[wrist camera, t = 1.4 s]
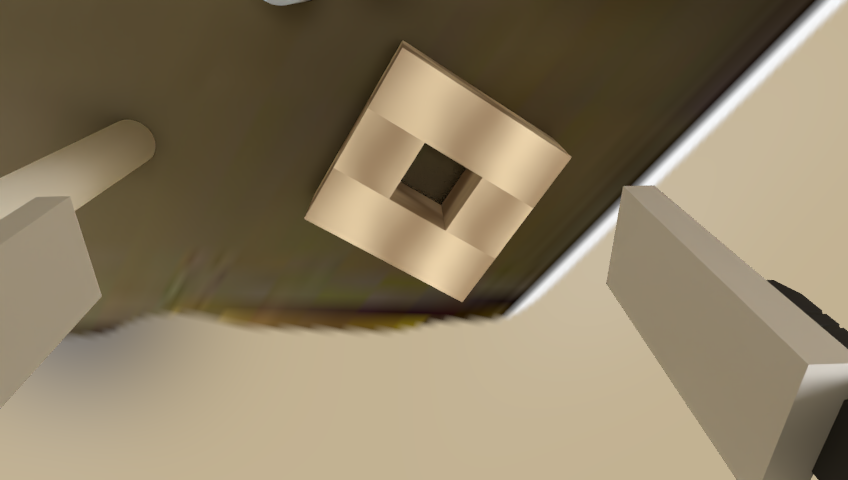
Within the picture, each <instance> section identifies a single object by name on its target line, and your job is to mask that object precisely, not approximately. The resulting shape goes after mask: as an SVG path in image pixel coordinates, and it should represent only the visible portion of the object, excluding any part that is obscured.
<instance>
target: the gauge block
mask: <svg viewBox="0 0 848 480" xmlns="http://www.w3.org/2000/svg"><path fill="white" fill-rule="evenodd" d="M424 143H426V144H428V145H430V146H431V147H433V148H435V149H436V150H438V151H439V152H441V153H443V154H444V155H446V156H448V157H449V158H451V159H453V160H454V161H456V162H458V163H459V164H461V165H463V166H464V167H466V169H465V171H464V172H463V174H462V175H461V177H460V178H459V180H458V181H457V183H456V184H455V185H454V187H453V188H452V190H451V191H450V193H449V194H448V196H447V197H446V199H445V200H444V202H443V203H442V205H440V204H438V203H436V202H435V201H433V200H431V199H430V198H428V197H426V196H424V195H423V194H421V193H419V192H417V191H416V190H414V189H412V188H410V187H409V186H407V185H405V184H403V183H402V182H400V181H401V180H402V178H403V176H404V175H405V173H406V172H407V170H408V169H409V167H410V165H411V164H412V162H413V161H414V159H415V157H416V156H417V154H418V153H419V151H420V150H421V148H422V146H423V145H424ZM570 159H571V156H570V155H569V154H568V153H567V152H566V151H565V150H564V149H563V148H562V147H561V146H560V145H559V144H558V143H557V142H556V141H555V140H554V139H553V138H552V137H550V136H549V135H547V134H546V133H544V132H543V131H541V130H540V129H538V128H536V127H535V126H533V125H532V124H530V123H529V122H527V121H526V120H524V119H523V118H521V117H520V116H518V115H517V114H515V113H514V112H512V111H510V110H509V109H507V108H506V107H504V106H503V105H501V104H500V103H498V102H497V101H495V100H494V99H492V98H491V97H489V96H488V95H486V94H484V93H483V92H481V91H480V90H478V89H477V88H475V87H474V86H472V85H471V84H469V83H468V82H466V81H465V80H463V79H462V78H460V77H458V76H457V75H455V74H454V73H452V72H451V71H449V70H448V69H446V68H445V67H443V66H442V65H440V64H439V63H437V62H436V61H434V60H432V59H431V58H429V57H428V56H426V55H425V54H423V53H422V52H420V51H419V50H417V49H416V48H414V47H413V46H411V45H410V44H408V43H406V42H405V41H403V40H402V42H401V44H400V45H399V47H398V49H397V51H396V52H395V54H394V56H393V58H392V59H391V61H390V63H389V65H388V66H387V68H386V70H385V72H384V73H383V75H382V77H381V79H380V80H379V82H378V84H377V86H376V87H375V89H374V91H373V93H372V94H371V96H370V98H369V100H368V101H367V103H366V105H365V107H364V108H363V110H362V112H361V114H360V115H359V117H358V119H357V121H356V122H355V124H354V126H353V128H352V129H351V131H350V133H349V135H348V136H347V138H346V140H345V142H344V143H343V145H342V147H341V149H340V150H339V152H338V154H337V156H336V157H335V159H334V161H333V163H332V164H331V166H330V168H329V170H328V171H327V173H326V175H325V177H324V178H323V180H322V182H321V183H320V185H319V187H318V189H317V190H316V192H315V194H314V196H313V199H312V201H311V204H310V206H309V208H308V211H307V213H306V215H305V218H304V219H306V220H308V221H310V222H311V223H313V224H315V225H317V226H319V227H321V228H323V229H325V230H327V231H328V232H330V233H332V234H334V235H336V236H338V237H340V238H342V239H344V240H345V241H347V242H349V243H351V244H353V245H355V246H357V247H359V248H361V249H363V250H364V251H366V252H368V253H370V254H372V255H374V256H376V257H378V258H380V259H381V260H383V261H385V262H387V263H389V264H391V265H393V266H395V267H397V268H398V269H400V270H402V271H404V272H406V273H408V274H410V275H412V276H414V277H416V278H417V279H419V280H421V281H423V282H425V283H427V284H429V285H431V286H433V287H434V288H436V289H438V290H440V291H442V292H444V293H446V294H448V295H450V296H451V297H453V298H455V299H457V300H459V301H461V302H463V301H464V299H465V298H466V297H467V295H468V294H469V293H470V291H471V290H472V289H473V287H474V286H475V285H476V283H477V282H478V281H479V279H480V278H481V277H482V275H483V274H484V273H485V271H486V270H487V269H488V267H489V266H490V265H491V263H492V262H493V261H494V259H495V258H496V257H497V255H498V254H499V253H500V252H501V250H502V249H503V248H504V246H505V245H506V244H507V242H508V241H509V240H510V238H511V237H512V236H513V234H514V233H515V232H516V230H517V229H518V228H519V226H520V225H521V224H522V222H523V221H524V220H525V218H526V217H527V216H528V214H529V213H530V212H531V210H532V209H533V208H534V206H535V205H536V204H537V202H538V201H539V200H540V198H541V197H542V196H543V194H544V193H545V192H546V190H547V189H548V188H549V187H550V185H551V184H552V183H553V181H554V180H555V179H556V177H557V176H558V175H559V173H560V172H561V171H562V169H563V168H564V167H565V165H566V164H567V163H568V161H569V160H570Z"/></svg>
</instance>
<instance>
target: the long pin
mask: <svg viewBox="0 0 848 480" xmlns="http://www.w3.org/2000/svg"><path fill="white" fill-rule="evenodd" d="M155 149H156V143H155V139H154V136H153V135H152V133H151V132H150V130H149V129H148V128H147V127H146V126H144V125H143V124H141V123H140V122H137V121H135V120H121V121H118V122H116V123H114V124H112V125H110V126H108V127H106V128H104V129H102V130H100V131H97V132H95V133H93V134H91V135H89V136H87V137H85V138H83V139H81V140H79V141H77V142H74V143H72V144H70V145H68V146H66V147H64V148H62V149H60V150H58V151H56V152H54V153H51V154H49V155H47V156H45V157H43V158H41V159H39V160H37V161H35V162H33V163H31V164H28V165H26V166H24V167H22V168H20V169H18V170H16V171H14V172H12V173H10V174H8V175H6V176H3V177H1V178H0V219H2V218H4V217H5V216H7V215H8V214H10V213H12V212H13V211H15V210H16V209H18V208H19V207H21V206H23V205H24V204H26V203H27V202H29V201H31V200H32V199H34V198H35V197H52V196H70V198H71V201H72V204H73V207H74V210H75V211H76V210H77V209H78V208H80V207H81V206H83V205H84V204H86V203H87V202H89V201H90V200H92V199H93V198H94V197H96V196H97V195H99V194H100V193H102V192H103V191H105V190H106V189H108V188H109V187H110V186H112V185H113V184H115V183H116V182H118V181H119V180H121V179H122V178H124V177H125V176H126V175H128V174H129V173H131V172H132V171H134V170H135V169H137V168H138V167H140V166H141V165H142V164H144V163H145V162H147V161H148V160H150V159H151V158H152V156H153V155H154V153H155Z"/></svg>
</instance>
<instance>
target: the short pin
mask: <svg viewBox="0 0 848 480" xmlns="http://www.w3.org/2000/svg"><path fill="white" fill-rule="evenodd" d="M264 1H266V2H268V3H270V4H273V5H289V4H294V3H300V2H306V1H311V0H264Z"/></svg>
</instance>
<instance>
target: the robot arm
mask: <svg viewBox="0 0 848 480" xmlns="http://www.w3.org/2000/svg"><path fill="white" fill-rule="evenodd" d="M606 284H607V285H608V287H609V288H610V290H611V291H612V293H613V294H614V296H615V297H616V299H617V300H618V302H619V303H620V305H621V306H622V308H623V309H624V311H625V312H626V314H627V315H628V317H629V318H630V320H631V321H632V323H633V324H634V326H635V327H636V329H637V330H638V332H639V333H640V335H641V336H642V338H643V339H644V341H645V342H646V344H647V346H648V347H649V348H650V350H651V351H652V353H653V355H654V356H655V358H656V359H657V360H658V362H659V364H660V365H661V366H662V368H663V370H664V371H665V373H666V374H667V375H668V377H669V379H670V380H671V382H672V383H673V385H674V386H675V388H676V389H677V391H678V392H679V394H680V395H681V397H682V398H683V400H684V401H685V402H686V404H687V406H688V407H689V409H690V410H691V412H692V413H693V415H694V416H695V418H696V419H697V420H698V422H699V424H700V425H701V427H702V428H703V430H704V431H705V433H706V434H707V436H708V437H709V439H710V440H711V442H712V443H713V445H714V446H715V448H716V449H717V451H718V452H719V454H720V455H721V457H722V458H723V460H724V461H725V463H726V464H727V466H728V467H729V469H730V470H731V472H732V473H733V475H734V476H735V478H736V479H737V480H811V478H812V476H813V474H814V475H815V476H816V477H817V479H818V480H848V331H847V330H845V329H844V328H840V327H839V324H838V323H837V322H835V321H834V320H833V319H831V317H829V316H828V315H827V314H822V310H821V309H819V308H818V307H817V306H816V305H814V304H813V303H812V302H811V301H809V300H808V299H807V298H806V297H805V296H803V295H802V294H800V293H798V292H796V291H794V290H792V289H790V288H788V287H786V286H784V285H782V284H780V283H778V282H776V281H774V280H765V279H764V278H763V277H762V276H761V275H759V274H758V273H757V272H756V271H755V270H753V269H752V268H751V267H750V266H749V265H747V264H746V263H745V262H744V261H743V260H742V259H740V258H739V257H738V256H737V255H736V254H735V253H733V252H732V251H731V250H730V249H729V248H727V247H726V246H725V245H724V244H722V243H721V242H720V241H719V240H718V239H717V238H716V237H714V236H713V235H712V234H711V233H710V232H708V231H707V230H706V229H705V228H704V227H703V226H701V225H700V224H699V223H698V222H696V221H695V220H694V219H693V218H692V217H691V216H689V215H688V214H687V213H686V212H685V211H684V210H682V209H681V208H680V207H679V206H678V205H677V204H675V203H674V202H673V201H672V200H671V199H669V198H668V197H667V196H666V195H665V194H663V193H662V192H661V191H660V190H659V189H658V188H656V187H655V186H623V190H622V196H621V202H620V208H619V213H618V219H617V225H616V231H615V236H614V243H613V249H612V254H611V259H610V265H609V271H608V277H607V282H606ZM101 296H102V295H101V292H100V289H99V286H98V283H97V279H96V276H95V273H94V270H93V267H92V264H91V261H90V257H89V254H88V251H87V248H86V245H85V242H84V239H83V235H82V232H81V229H80V226H79V223H78V220H77V216H76V213H75V210H74V207H73V204H72V201H71V198H70V196H52V197H35V198H34V199H32V200H31V201H29V202H27V203H26V204H24V205H23V206H21V207H19V208H18V209H16V210H15V211H13V212H12V213H10V214H8V215H7V216H5V217H4V218H2V219H0V409H1V407H2V406H3V405H4V404H5V403H6V402H7V401H8V400H9V399H10V397H11V396H12V395H13V394H14V393H15V392H16V390H18V389H19V387H20V386H21V385H22V384H23V383H24V382H25V381H26V380H27V378H28V377H29V376H30V375H31V374H32V373H33V372H34V371H35V370H36V368H37V367H38V366H39V365H40V364H41V363H42V362H43V361H44V360H45V359H46V357H47V356H48V355H49V354H50V353H51V352H52V351H53V350H54V348H55V347H56V346H57V345H58V344H59V343H60V342H61V341H62V340H63V339H64V338H65V336H66V335H67V334H68V333H69V332H70V331H71V330H72V329H73V328H74V326H75V325H76V324H77V323H78V322H79V321H80V320H81V319H82V318H83V316H84V315H85V314H86V313H87V312H88V311H89V310H90V309H91V308H92V306H93V305H94V304H95V303H96V302H97V301H98V300H99V299H100V298H101Z"/></svg>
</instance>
